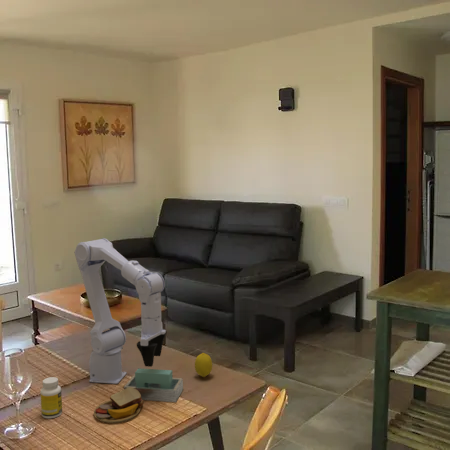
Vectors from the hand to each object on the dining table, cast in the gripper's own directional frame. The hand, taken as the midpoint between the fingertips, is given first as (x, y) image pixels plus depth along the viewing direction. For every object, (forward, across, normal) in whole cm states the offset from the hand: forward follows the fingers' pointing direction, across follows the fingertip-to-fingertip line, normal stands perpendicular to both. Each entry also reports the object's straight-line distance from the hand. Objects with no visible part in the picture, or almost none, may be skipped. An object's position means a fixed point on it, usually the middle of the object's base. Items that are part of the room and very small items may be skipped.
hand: (152, 360), depth 152 cm
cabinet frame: (+10, 0, 0) cm, 10 cm away
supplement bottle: (+10, -16, +24) cm, 30 cm away
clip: (+10, 0, 0) cm, 10 cm away
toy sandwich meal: (+11, -12, +6) cm, 17 cm away
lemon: (+10, +14, -12) cm, 21 cm away
